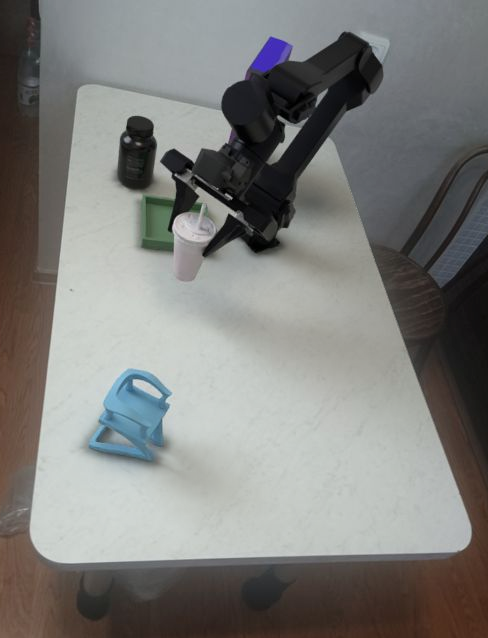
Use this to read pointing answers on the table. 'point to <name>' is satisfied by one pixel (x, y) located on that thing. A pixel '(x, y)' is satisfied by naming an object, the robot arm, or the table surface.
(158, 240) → the tray
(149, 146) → the supplement bottle
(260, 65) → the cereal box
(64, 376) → the table surface
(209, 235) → the smoothie
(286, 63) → the robot arm
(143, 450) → the chair
